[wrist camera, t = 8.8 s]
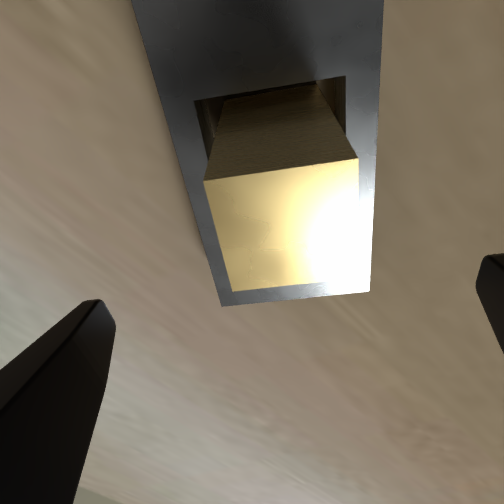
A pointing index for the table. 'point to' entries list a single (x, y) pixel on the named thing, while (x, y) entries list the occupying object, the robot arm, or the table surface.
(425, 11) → the table surface
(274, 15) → the rail
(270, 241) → the brass peg
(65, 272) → the table surface
